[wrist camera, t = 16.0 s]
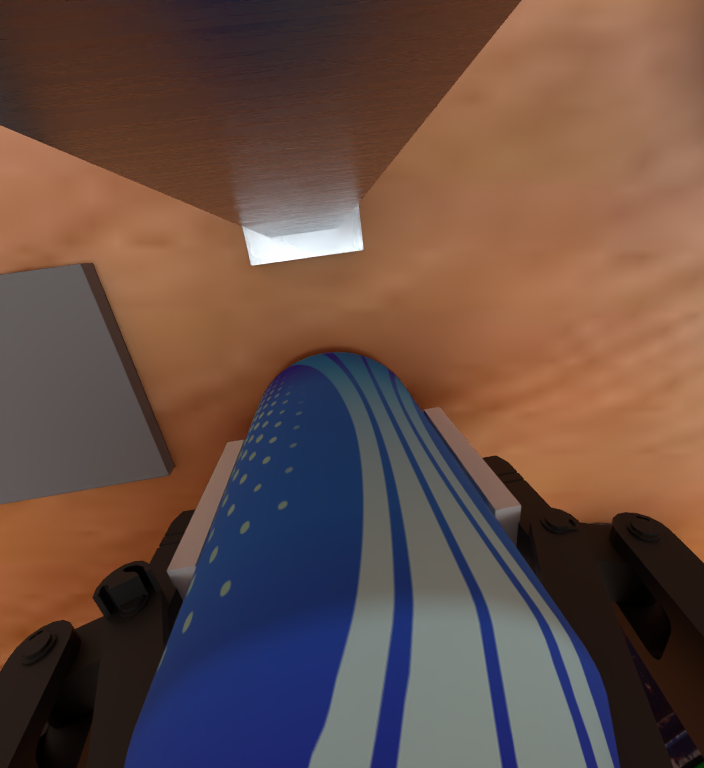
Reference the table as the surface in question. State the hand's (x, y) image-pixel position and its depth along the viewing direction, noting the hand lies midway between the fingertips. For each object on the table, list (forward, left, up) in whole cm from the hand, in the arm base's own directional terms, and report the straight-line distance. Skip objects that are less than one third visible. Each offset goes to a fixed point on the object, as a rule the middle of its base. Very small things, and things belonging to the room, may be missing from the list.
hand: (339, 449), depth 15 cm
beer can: (0, 0, -4) cm, 4 cm away
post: (0, +11, -3) cm, 11 cm away
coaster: (-15, +4, -3) cm, 16 cm away
